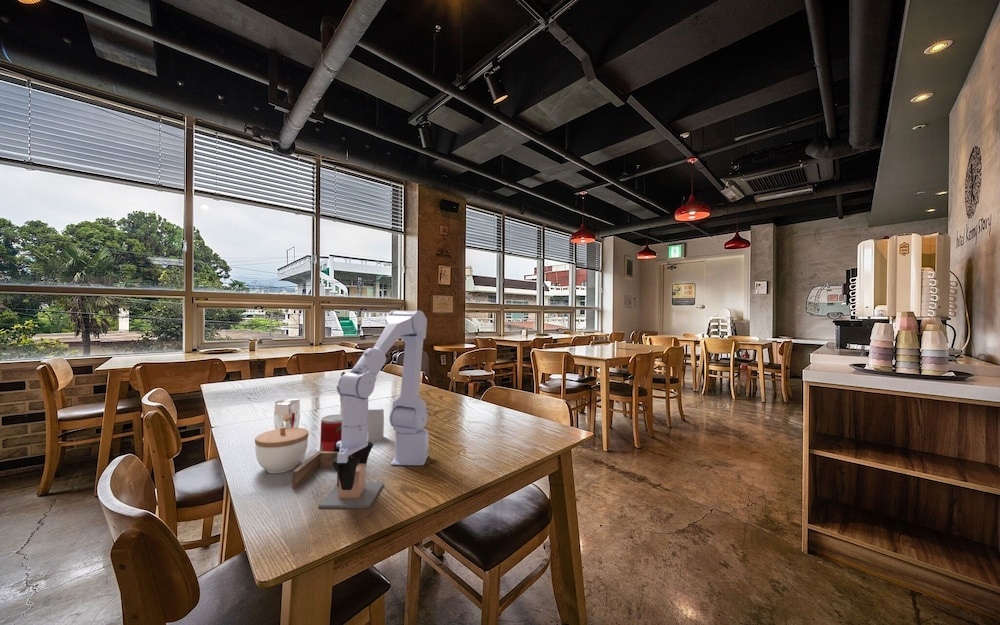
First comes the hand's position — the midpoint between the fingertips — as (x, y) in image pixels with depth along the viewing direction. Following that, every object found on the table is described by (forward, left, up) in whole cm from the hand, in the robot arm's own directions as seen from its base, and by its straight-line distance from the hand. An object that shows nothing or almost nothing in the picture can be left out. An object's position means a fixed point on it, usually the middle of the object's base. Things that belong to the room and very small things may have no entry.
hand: (353, 481), depth 85 cm
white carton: (+31, -28, -3) cm, 42 cm away
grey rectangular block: (+8, -39, -4) cm, 40 cm away
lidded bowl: (+25, -15, -3) cm, 29 cm away
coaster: (0, 0, -3) cm, 3 cm away
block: (0, 0, -3) cm, 3 cm away
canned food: (+15, -25, -3) cm, 29 cm away
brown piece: (+10, -10, -3) cm, 15 cm away
